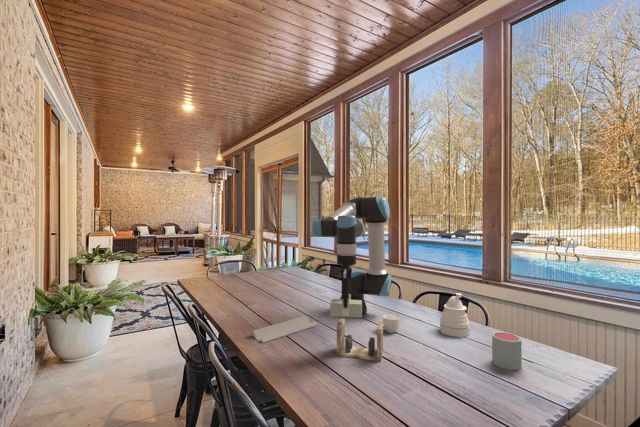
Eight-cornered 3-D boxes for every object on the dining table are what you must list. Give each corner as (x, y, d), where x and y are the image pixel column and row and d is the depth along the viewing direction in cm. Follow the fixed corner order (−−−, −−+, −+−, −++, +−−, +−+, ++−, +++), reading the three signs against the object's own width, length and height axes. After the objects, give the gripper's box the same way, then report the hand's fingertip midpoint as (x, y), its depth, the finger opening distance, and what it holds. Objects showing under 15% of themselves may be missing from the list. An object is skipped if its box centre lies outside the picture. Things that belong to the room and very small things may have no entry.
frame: (382, 352, 125) (382, 322, 125) (381, 361, 117) (381, 329, 117) (341, 347, 130) (341, 318, 130) (336, 355, 122) (336, 324, 122)
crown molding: (262, 344, 134) (262, 336, 134) (248, 337, 142) (248, 329, 142) (316, 326, 155) (316, 319, 155) (301, 320, 164) (301, 313, 164)
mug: (521, 372, 109) (521, 343, 109) (491, 365, 114) (491, 338, 114) (521, 357, 121) (521, 331, 121) (493, 351, 126) (493, 326, 126)
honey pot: (469, 329, 150) (469, 291, 150) (470, 339, 139) (469, 298, 139) (441, 325, 156) (440, 289, 156) (439, 334, 144) (438, 295, 144)
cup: (380, 331, 147) (380, 317, 147) (388, 325, 155) (388, 312, 155) (395, 335, 142) (395, 320, 142) (403, 329, 150) (403, 315, 150)
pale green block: (361, 312, 126) (361, 300, 126) (361, 317, 120) (361, 304, 120) (332, 311, 128) (332, 298, 128) (330, 315, 122) (330, 303, 122)
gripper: (339, 251, 134) (340, 305, 134) (333, 257, 115) (333, 320, 115) (357, 251, 132) (357, 306, 132) (354, 257, 114) (354, 321, 114)
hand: (346, 312), depth 124 cm, fingers closed on pale green block, 6 cm apart
